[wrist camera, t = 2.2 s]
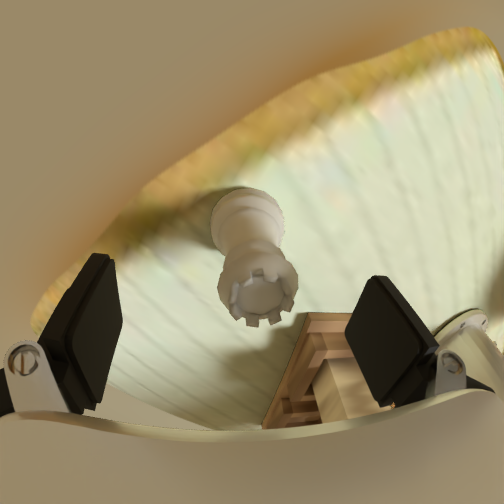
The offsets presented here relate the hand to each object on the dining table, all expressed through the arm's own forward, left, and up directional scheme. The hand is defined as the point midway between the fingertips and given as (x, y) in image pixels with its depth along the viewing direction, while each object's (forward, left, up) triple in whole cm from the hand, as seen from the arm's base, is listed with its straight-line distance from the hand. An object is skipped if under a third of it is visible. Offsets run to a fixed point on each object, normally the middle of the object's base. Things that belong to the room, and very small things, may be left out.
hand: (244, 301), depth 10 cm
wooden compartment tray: (-11, +17, -8) cm, 22 cm away
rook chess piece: (-1, 0, -9) cm, 9 cm away
